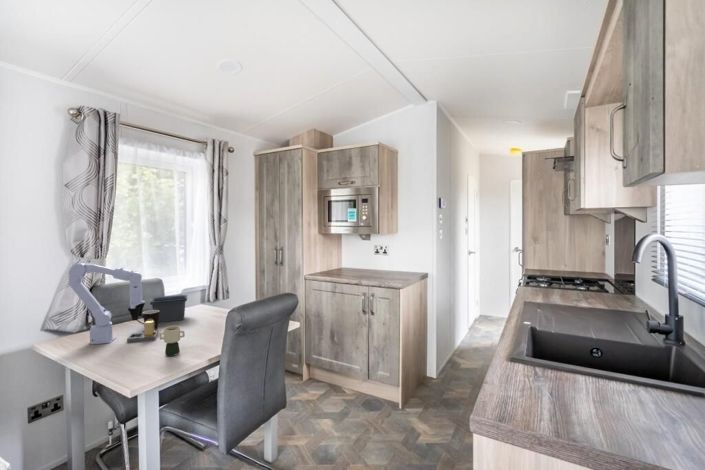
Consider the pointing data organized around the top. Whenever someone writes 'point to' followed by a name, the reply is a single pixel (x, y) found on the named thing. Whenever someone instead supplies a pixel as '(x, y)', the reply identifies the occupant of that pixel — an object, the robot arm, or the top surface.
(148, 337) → the socket
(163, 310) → the storage bin
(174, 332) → the beige trophy cup
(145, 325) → the brass peg
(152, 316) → the coffee mug
